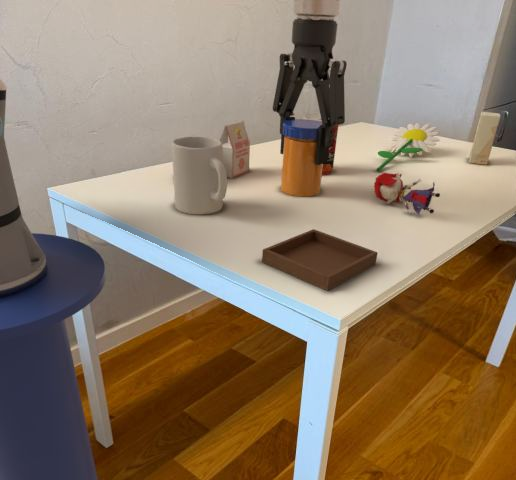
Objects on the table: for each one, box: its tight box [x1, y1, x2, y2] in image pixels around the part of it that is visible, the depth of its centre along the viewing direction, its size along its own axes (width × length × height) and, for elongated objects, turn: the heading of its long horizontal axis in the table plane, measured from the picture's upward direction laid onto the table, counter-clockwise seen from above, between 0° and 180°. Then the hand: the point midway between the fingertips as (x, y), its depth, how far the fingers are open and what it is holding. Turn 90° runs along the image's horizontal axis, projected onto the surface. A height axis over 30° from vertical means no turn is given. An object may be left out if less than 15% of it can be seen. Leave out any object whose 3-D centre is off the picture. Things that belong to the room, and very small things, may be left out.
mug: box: [171, 136, 228, 216], centre depth 86 cm, size 12×8×11 cm
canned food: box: [302, 113, 339, 176], centre depth 110 cm, size 8×8×11 cm
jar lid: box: [282, 118, 322, 140], centre depth 94 cm, size 9×9×2 cm
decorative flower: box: [376, 122, 441, 172], centre depth 124 cm, size 13×5×30 cm
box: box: [468, 111, 502, 166], centre depth 122 cm, size 5×4×11 cm
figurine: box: [373, 172, 441, 216], centre depth 93 cm, size 6×8×15 cm
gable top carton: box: [219, 120, 251, 179], centre depth 106 cm, size 4×7×10 cm, turn 149°
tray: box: [261, 228, 379, 292], centre depth 72 cm, size 12×12×2 cm
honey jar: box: [280, 136, 323, 197], centre depth 97 cm, size 8×8×12 cm
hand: (303, 158), depth 97 cm, fingers closed on jar lid, 8 cm apart
